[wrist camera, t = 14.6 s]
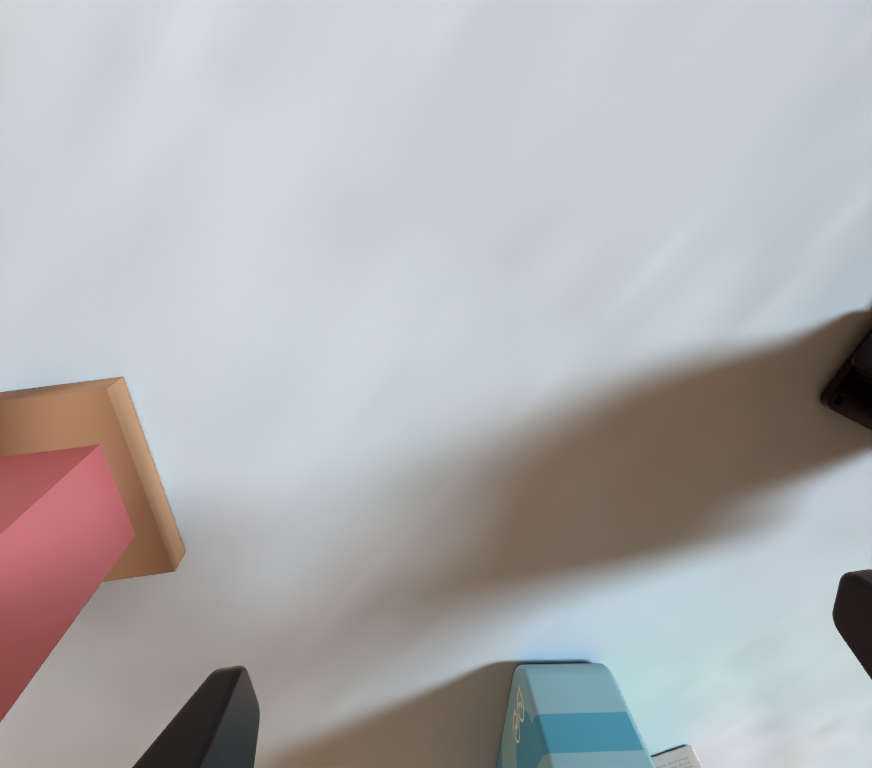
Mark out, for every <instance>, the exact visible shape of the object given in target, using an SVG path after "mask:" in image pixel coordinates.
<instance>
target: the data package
mask: <svg viewBox="0 0 872 768" xmlns="http://www.w3.org/2000/svg"><path fill="white" fill-rule="evenodd" d="M497 768H656V767H655V765H654V763H653V761H652V759H651V756H650V754H649V752H648V750H647V748H646V745H645V743H644V741H643V739H642V737H641V735H640V732H639V730H638V728H637V726H636V724H635V721H634V719H633V717H632V715H631V713H630V710H629V708H628V706H627V704H626V702H625V700H624V697H623V695H622V693H621V691H620V689H619V686H618V684H617V682H616V680H615V678H614V676H613V674H612V673H611V671H610V670H609V669H608V668H607V667H606V666H605V665H603V664H600V663H588V664H531V665H519V666H517V668H516V669H515V671H514V674H513V679H512V685H511V690H510V696H509V701H508V707H507V712H506V718H505V723H504V729H503V735H502V740H501V746H500V751H499V757H498V762H497Z"/></svg>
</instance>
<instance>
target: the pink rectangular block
mask: <svg viewBox="0 0 872 768" xmlns="http://www.w3.org/2000/svg"><path fill="white" fill-rule="evenodd" d="M134 537H135V532H134V530H133V527H132V525H131V522H130V519H129V517H128V514H127V512H126V509H125V507H124V504H123V502H122V499H121V496H120V494H119V491H118V489H117V486H116V484H115V481H114V478H113V476H112V473H111V471H110V468H109V466H108V463H107V460H106V458H105V455H104V453H103V450H102V448H101V445H100V444H99V445H91V446H83V447H75V448H68V449H60V450H52V451H44V452H37V453H29V454H21V455H13V456H6V457H0V722H1V721H2V719H3V718H4V717H5V715H6V714H7V712H8V711H9V710H10V708H11V707H12V706H13V704H14V703H15V701H16V700H17V699H18V697H19V696H20V694H21V693H22V692H23V690H24V689H25V688H26V686H27V685H28V683H29V682H30V681H31V679H32V678H33V676H34V675H35V674H36V672H37V671H38V670H39V668H40V667H41V665H42V664H43V663H44V661H45V660H46V658H47V657H48V656H49V654H50V653H51V651H52V650H53V649H54V647H55V646H56V645H57V643H58V642H59V640H60V639H61V638H62V636H63V635H64V633H65V632H66V631H67V629H68V628H69V627H70V625H71V624H72V622H73V621H74V620H75V618H76V617H77V615H78V614H79V613H80V611H81V610H82V609H83V607H84V606H85V604H86V603H87V602H88V600H89V599H90V597H91V596H92V595H93V593H94V592H95V591H96V589H97V588H98V586H99V585H100V584H101V582H102V581H103V579H104V578H105V577H106V575H107V574H108V573H109V571H110V570H111V568H112V567H113V566H114V564H115V563H116V561H117V560H118V559H119V557H120V556H121V555H122V553H123V552H124V550H125V549H126V548H127V546H128V545H129V543H130V542H131V541H132V539H133V538H134Z"/></svg>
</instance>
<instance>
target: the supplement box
mask: <svg viewBox="0 0 872 768" xmlns="http://www.w3.org/2000/svg"><path fill="white" fill-rule="evenodd" d="M651 759H652V761H653V763H654V765H655V767H656V768H703V766H702V765H701V763H700V761H699V759H698V757H697V755H696V753H695V751H694V749H693V747H692V746H685V747H682V748H678V749H676V750H672V751H669V752H666V753H663V754H660V755H658V756H655V757H652V758H651Z"/></svg>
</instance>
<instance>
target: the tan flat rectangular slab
mask: <svg viewBox="0 0 872 768" xmlns="http://www.w3.org/2000/svg"><path fill="white" fill-rule="evenodd" d="M99 444H100V445H101V448H102V450H103V453H104V455H105V458H106V460H107V463H108V466H109V468H110V471H111V473H112V476H113V478H114V481H115V484H116V486H117V489H118V491H119V494H120V496H121V499H122V502H123V504H124V507H125V509H126V512H127V514H128V517H129V519H130V522H131V525H132V527H133V530H134V532H135V537H134V538H133V539H132V541H131V542H130V543H129V545H128V546H127V548H126V549H125V550H124V552H123V553H122V555H121V556H120V557H119V559H118V560H117V561H116V563H115V564H114V566H113V567H112V568H111V570H110V571H109V573H108V574H107V575H106V577H105V578H104V579H103V581H102V582H104V581H111V580H118V579H125V578H132V577H139V576H146V575H153V574H160V573H167V572H174V571H175V570H176V568H177V566H178V564H179V563H180V561H181V559H182V557H183V555H184V554H185V552H186V551H185V549H184V546H183V543H182V540H181V537H180V534H179V532H178V529H177V526H176V523H175V520H174V518H173V515H172V512H171V509H170V506H169V504H168V501H167V498H166V495H165V492H164V490H163V487H162V484H161V481H160V478H159V476H158V473H157V470H156V467H155V464H154V461H153V459H152V456H151V453H150V450H149V447H148V445H147V442H146V439H145V436H144V433H143V431H142V428H141V425H140V422H139V419H138V417H137V414H136V411H135V408H134V405H133V403H132V400H131V397H130V394H129V391H128V388H127V386H126V383H125V380H124V377H117V378H109V379H101V380H94V381H86V382H78V383H70V384H62V385H54V386H46V387H39V388H31V389H23V390H15V391H7V392H0V457H6V456H13V455H21V454H29V453H37V452H44V451H52V450H60V449H68V448H75V447H83V446H91V445H99Z"/></svg>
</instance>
